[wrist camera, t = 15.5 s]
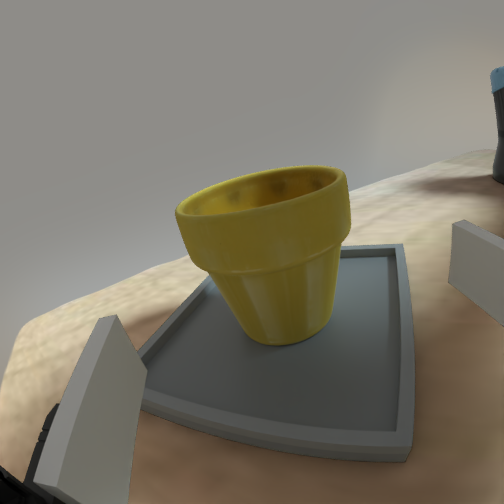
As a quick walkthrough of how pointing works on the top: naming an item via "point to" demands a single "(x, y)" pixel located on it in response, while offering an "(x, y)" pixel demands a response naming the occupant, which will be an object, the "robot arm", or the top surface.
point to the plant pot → (272, 247)
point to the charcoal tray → (297, 369)
